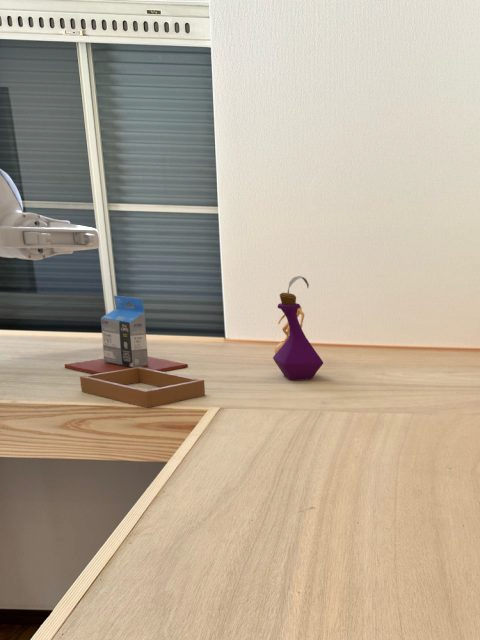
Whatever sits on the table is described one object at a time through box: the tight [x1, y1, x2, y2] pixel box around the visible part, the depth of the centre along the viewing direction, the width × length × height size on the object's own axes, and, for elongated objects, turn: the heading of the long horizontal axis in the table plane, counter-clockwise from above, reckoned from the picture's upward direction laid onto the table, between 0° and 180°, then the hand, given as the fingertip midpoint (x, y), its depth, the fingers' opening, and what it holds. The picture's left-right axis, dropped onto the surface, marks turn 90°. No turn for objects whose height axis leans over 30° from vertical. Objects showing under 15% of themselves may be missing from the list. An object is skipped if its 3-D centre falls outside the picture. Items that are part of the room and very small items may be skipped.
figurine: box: [274, 305, 305, 355], centre depth 148 cm, size 8×6×12 cm
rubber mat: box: [64, 356, 189, 375], centre depth 139 cm, size 16×16×1 cm
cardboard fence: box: [79, 367, 206, 409], centre depth 119 cm, size 12×17×2 cm
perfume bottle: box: [272, 275, 324, 381], centre depth 132 cm, size 8×8×18 cm
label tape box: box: [100, 295, 149, 367], centre depth 137 cm, size 9×4×12 cm, turn 55°
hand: (70, 239), depth 137 cm, fingers open, 8 cm apart
